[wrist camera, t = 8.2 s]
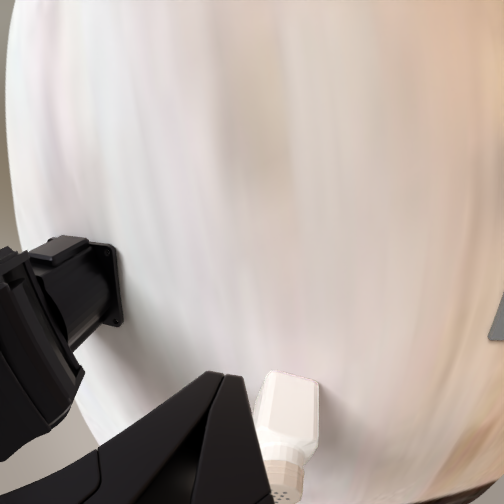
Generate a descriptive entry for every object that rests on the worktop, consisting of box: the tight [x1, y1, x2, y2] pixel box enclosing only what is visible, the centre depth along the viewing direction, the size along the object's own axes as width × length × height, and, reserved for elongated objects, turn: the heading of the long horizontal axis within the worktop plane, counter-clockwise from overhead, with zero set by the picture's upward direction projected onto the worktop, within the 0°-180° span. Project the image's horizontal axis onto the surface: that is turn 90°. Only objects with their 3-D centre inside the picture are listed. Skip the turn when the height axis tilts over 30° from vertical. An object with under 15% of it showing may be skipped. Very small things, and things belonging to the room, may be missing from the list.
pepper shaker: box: [252, 370, 319, 504], centre depth 19 cm, size 4×4×10 cm
